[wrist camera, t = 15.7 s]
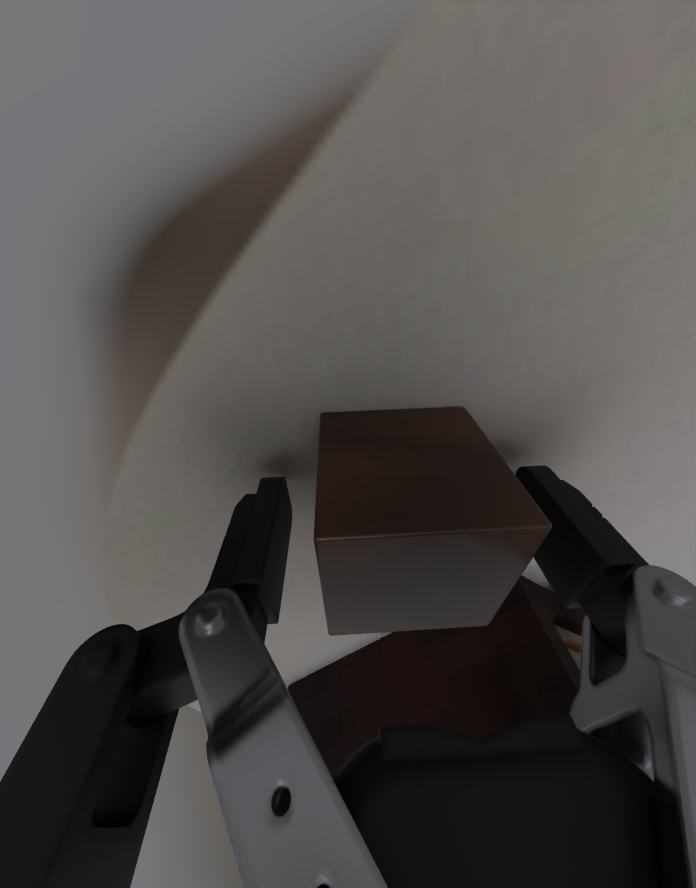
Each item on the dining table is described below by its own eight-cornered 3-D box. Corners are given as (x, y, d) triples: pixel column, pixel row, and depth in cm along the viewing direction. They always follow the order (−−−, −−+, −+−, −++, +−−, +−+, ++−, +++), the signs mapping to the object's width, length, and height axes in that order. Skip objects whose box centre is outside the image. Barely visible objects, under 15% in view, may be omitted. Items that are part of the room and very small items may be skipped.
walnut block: (329, 509, 13) (328, 636, 9) (320, 412, 10) (313, 540, 6) (440, 503, 13) (489, 626, 9) (464, 406, 10) (555, 526, 6)
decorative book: (248, 813, 23) (676, 750, 9) (265, 690, 29) (540, 545, 15) (415, 805, 31) (779, 763, 17) (401, 709, 37) (662, 624, 23)
